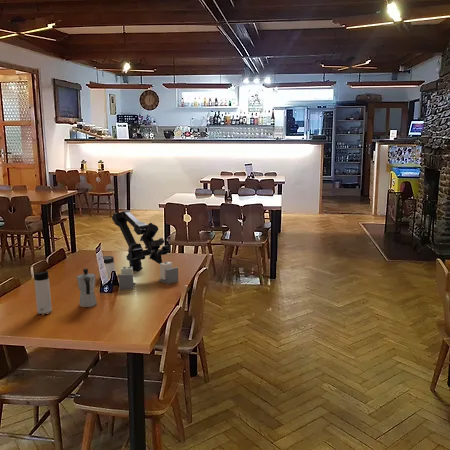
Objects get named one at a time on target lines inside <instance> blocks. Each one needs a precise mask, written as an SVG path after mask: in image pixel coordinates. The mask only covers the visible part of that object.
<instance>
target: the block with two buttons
mask: <svg viewBox="0 0 450 450" xmlns="http://www.w3.org/2000/svg"><path fill="white" fill-rule="evenodd" d="M120 271H121V272H120V275H121V274H133V275H134V271H133V267H130V266H122V267H121V269H120Z"/></svg>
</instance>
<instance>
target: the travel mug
mask: <svg viewBox="0 0 450 450" xmlns="http://www.w3.org/2000/svg"><path fill="white" fill-rule="evenodd" d="M33 278H34V279H33V280H34V282H33V283H34V292H35V302H36V310H37V312H36V313H37V315H38V314H47V313H50V312H51V311H53V309H52V300H51V299H52V298H51V289H50V287H51V286H50V279H49V271H46V270H44V271H39V272H36V273H33ZM51 313H52V312H51ZM51 313H50V314H51Z"/></svg>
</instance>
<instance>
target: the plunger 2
mask: <svg viewBox="0 0 450 450" xmlns="http://www.w3.org/2000/svg"><path fill="white" fill-rule="evenodd" d="M171 268H173V262H172V261H165V262H162V263H160V264H159V272H160V274H159V275H160V278H159V279H163V280H167V279H166V270H167V269H171Z"/></svg>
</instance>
